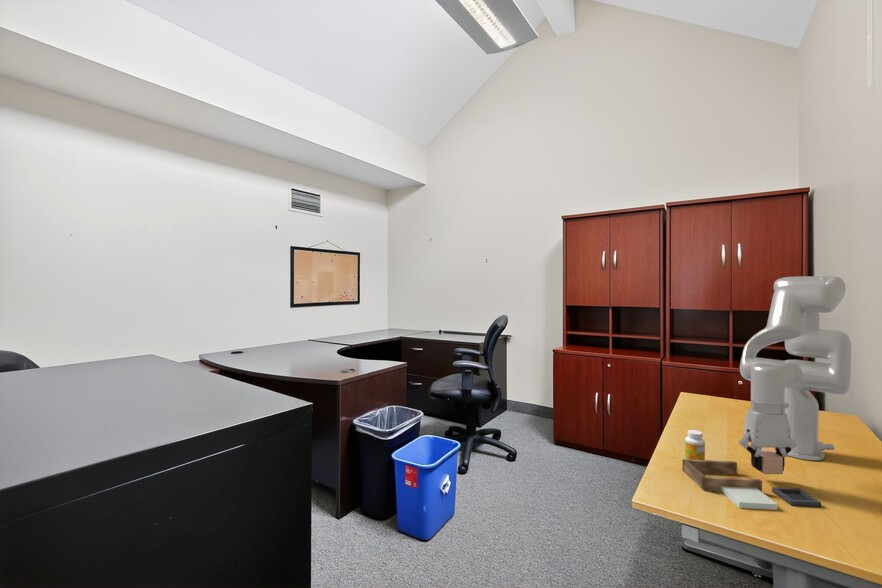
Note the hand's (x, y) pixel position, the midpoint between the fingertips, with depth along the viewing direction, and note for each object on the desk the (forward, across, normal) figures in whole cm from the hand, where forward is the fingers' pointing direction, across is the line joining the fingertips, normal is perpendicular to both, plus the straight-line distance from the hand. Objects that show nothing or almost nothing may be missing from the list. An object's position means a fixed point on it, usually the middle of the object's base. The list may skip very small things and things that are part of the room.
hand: (767, 467), depth 114 cm
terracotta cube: (+1, 0, 0) cm, 1 cm away
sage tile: (+4, +12, +11) cm, 16 cm away
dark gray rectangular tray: (+4, -1, +9) cm, 10 cm away
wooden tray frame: (+4, +13, +1) cm, 14 cm away
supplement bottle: (+4, +14, -12) cm, 19 cm away
